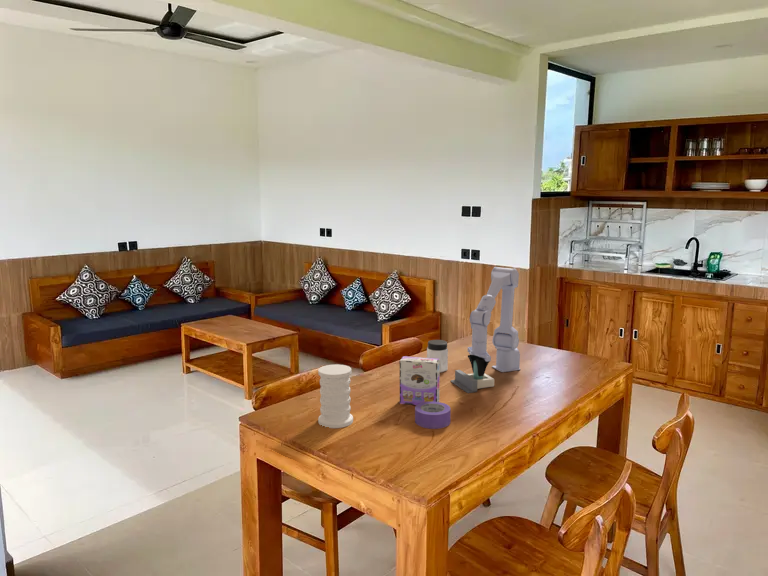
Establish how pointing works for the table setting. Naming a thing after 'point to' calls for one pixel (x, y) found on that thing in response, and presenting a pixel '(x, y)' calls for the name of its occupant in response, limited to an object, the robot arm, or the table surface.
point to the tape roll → (432, 415)
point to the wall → (465, 382)
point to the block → (484, 381)
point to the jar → (438, 352)
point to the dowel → (476, 372)
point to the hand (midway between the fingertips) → (478, 374)
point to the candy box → (419, 380)
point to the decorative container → (335, 396)
